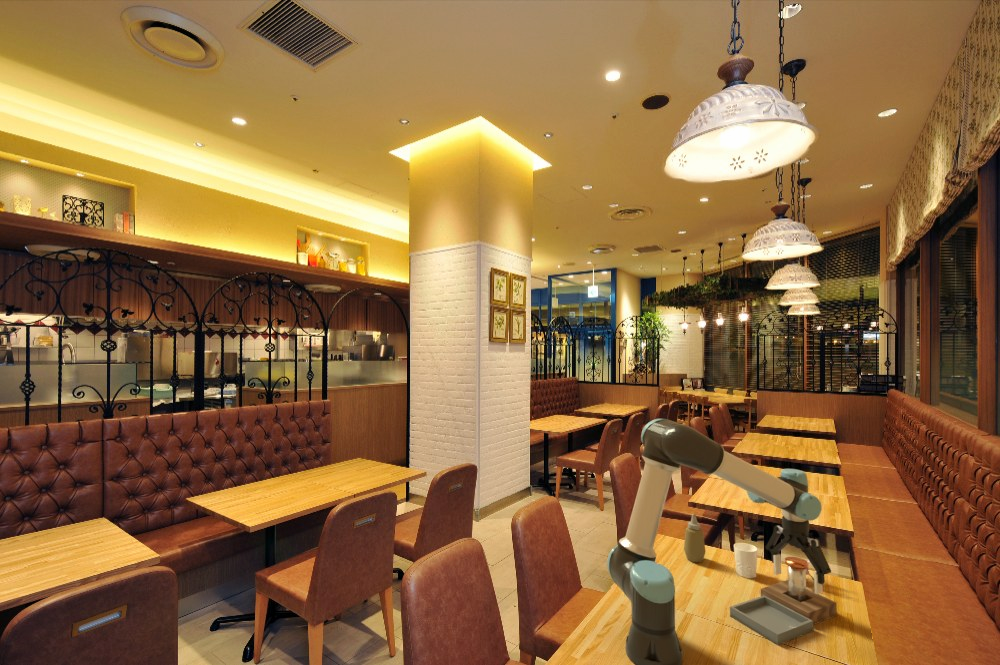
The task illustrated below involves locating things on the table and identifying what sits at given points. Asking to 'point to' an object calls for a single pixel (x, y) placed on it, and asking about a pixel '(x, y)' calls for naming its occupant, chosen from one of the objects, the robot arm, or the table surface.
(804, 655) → the table surface
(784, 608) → the tray
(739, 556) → the white cup
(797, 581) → the copper-capped cylinder
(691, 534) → the squeeze bottle
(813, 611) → the socket block
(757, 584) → the table surface
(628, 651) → the robot arm
